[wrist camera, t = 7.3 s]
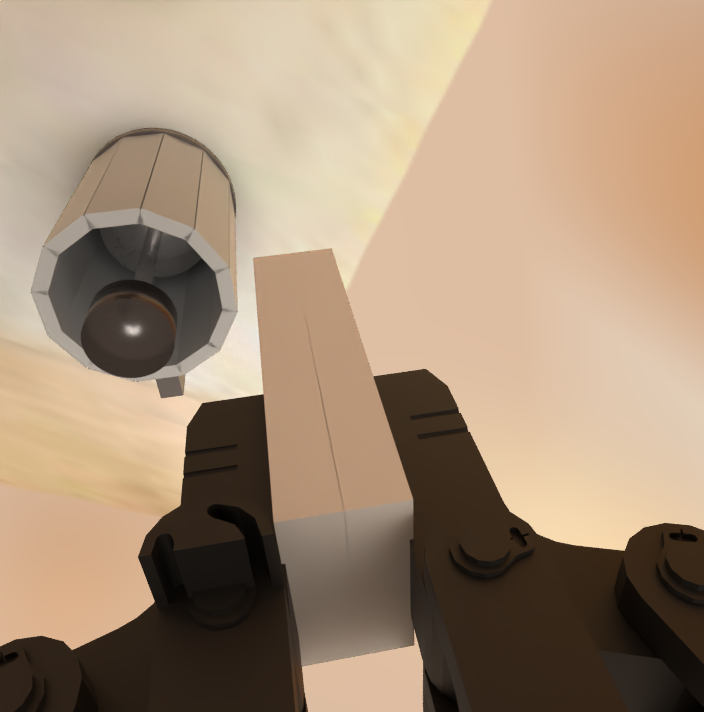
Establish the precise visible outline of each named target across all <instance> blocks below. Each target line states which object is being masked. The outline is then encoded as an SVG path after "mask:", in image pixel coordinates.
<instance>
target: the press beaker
mask: <svg viewBox="0 0 704 712" xmlns="http://www.w3.org/2000/svg"><path fill="white" fill-rule="evenodd" d="M235 217H236V202H235V193H234V189H233V185H232V183H231V180H230V177H229V175H228V173H227V172H226V170H225V168H224V167H223V165H222V164H221V162H220V161H219V160H218V159H217V157H216V156H215V155H214V154H213V153H212V152H211V151H210V150H209V149H207V148H206V147H205V146H204V145H202V144H201V143H199V142H198V141H196V140H195V139H193V138H191V137H189V136H187V135H184V134H181V133H179V132H176V131H171V130H167V129H159V128H144V129H138V130H133V131H130V132H127V133H124V134H122V135H120V136H118V137H116V138H114V139H113V140H111V141H110V142H108V143H107V144H106V145H105V146H104V147H103V148H102V149H101V150H100V151H99V152H98V153H97V155H96V156H95V157H94V159H93V161H92V163H91V164H90V166H89V168H88V170H87V172H86V174H85V175H84V177H83V179H82V180H81V182H80V184H79V185H78V187H77V189H76V191H75V192H74V194H73V196H72V197H71V199H70V201H69V203H68V204H67V206H66V208H65V209H64V211H63V213H62V214H61V216H60V218H59V220H58V221H57V223H56V225H55V226H54V228H53V230H52V232H51V233H50V235H49V237H48V238H47V240H46V242H45V243H44V245H43V247H42V251H41V255H40V258H39V262H38V266H37V269H36V273H35V277H34V281H33V284H32V288H31V294H32V296H33V299H34V302H35V304H36V307H37V309H38V312H39V315H40V317H41V320H42V322H43V325H44V327H45V330H46V333H47V335H49V338H51V339H52V340H53V341H54V342H55V343H57V344H58V345H59V346H60V347H61V348H63V349H64V350H65V351H66V352H68V353H69V354H70V355H71V356H72V357H74V358H75V359H76V360H77V361H78V362H80V363H81V364H82V365H83V366H84V367H86V368H87V367H88V369H91V370H94V371H98V372H101V373H105V374H109V373H107V372H105V371H103V370H101V369H100V368H98V367H97V366H96V365H94V364H93V363H92V362H91V361H90V360H89V358H88V357H87V355H86V354H85V352H84V350H83V348H82V344H81V330H82V326H83V324H84V321H85V318H86V316H87V313H88V310H89V307H90V305H91V302H92V300H93V298H94V296H95V295H96V294H97V293H98V291H99V290H101V289H102V288H103V287H105V286H106V285H108V284H110V283H113V282H116V281H120V280H129V279H130V280H134V277H135V274H136V272H134V271H132V270H130V269H128V268H126V267H125V266H124V265H122V264H121V263H120V262H118V261H117V260H116V259H115V258H114V257H113V256H112V254H111V253H110V252H109V250H108V249H107V247H106V246H105V244H104V242H103V239H102V236H101V232H100V228H104V227H113V226H122V225H131V224H139V223H141V224H143V225H146V226H149V227H151V228H154V229H157V230H160V231H162V232H165V233H168V234H170V235H173V236H176V237H179V238H181V239H184V240H186V241H187V242H188V243H189V244H190V245H191V247H192V248H193V249H194V250H195V251H196V252H197V253H198V254H199V255H200V256H201V257H202V258H201V259H200V260H199V261H198V262H197V263H196V264H195V265H194V266H193V267H192V268H190V269H188V270H187V271H185V272H183V273H180V274H177V275H174V276H169V277H153V280H152V285H154V286H156V287H158V288H159V289H161V290H162V291H163V292H165V293H166V294H167V295H168V297H169V298H170V299H171V300H172V302H173V304H174V306H175V308H176V311H177V316H178V322H177V330H176V338H175V345H174V351H173V354H172V356H171V358H170V360H169V361H168V363H167V364H166V365H165V366H164V367H163V368H162V369H160V370H159V371H157V372H155V373H153V374H151V375H148V376H145V377H140V378H124V377H120V378H123V379H127V380H130V381H134V382H135V380H136V382H139V381H146V380H153V379H156V382H157V386H158V389H159V392H160V396H161V398H167V397H174V396H181V395H183V393H184V383H185V374H186V373H188V372H189V371H191V370H192V369H194V368H195V367H196V366H198V365H199V364H201V363H202V362H204V361H205V360H207V359H208V358H210V357H211V356H213V355H214V354H216V353H217V352H218V351H220V350H221V348H222V345H223V343H224V341H225V339H226V336H227V334H228V332H229V330H230V327H231V325H232V323H233V321H234V318H235V316H236V314H237V311H238V310H237V270H236V230H235ZM109 375H112V374H109ZM112 376H115V375H112ZM116 377H118V376H116Z"/></svg>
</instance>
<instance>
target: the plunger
mask: <svg viewBox="0 0 704 712" xmlns="http://www.w3.org/2000/svg"><path fill="white" fill-rule="evenodd" d="M100 232H101V236H102V239H103V242H104V244H105V246H106V247H107V249H108V250H109V252H110V253H111V254H112V256H113V257H114V258H115V259H116V260H117V261H118V262H120V263H121V264H122V265H124V266H125V267H126V268H128V269H130V270H132V271H134V272H136V274H135V277H134V280H130V279H129V280H120V281H116V282H113V283H110V284H108V285H106V286H105V287H103V288H102V289H101V290H99V291H98V293H97V294H96V295H95V296H94V298H93V300H92V302H91V305H90V307H89V310H88V313H87V316H86V318H85V321H84V324H83V326H82V330H81V344H82V348H83V350H84V352H85V354H86V355H87V357H88V358H89V360H90V361H91V362H92V363H93V364H94V365H96V366H97V367H98V368H100V369H101V370H103V371H105V372H107V373H109V374H112V375H115V376H118V377H124V378H140V377H145V376H148V375H151V374H153V373H155V372H157V371H159V370H160V369H162V368H163V367H164V366H165V365H166V364H167V363H168V361H169V360H170V358H171V356H172V354H173V351H174V345H175V338H176V330H177V322H178V316H177V311H176V308H175V306H174V304H173V302H172V300H171V299H170V298H169V297H168V295H167V294H166V293H165V292H163V291H162V290H161V289H159V288H158V287H156V286H154V285H152V280H153V277H169V276H174V275H177V274H180V273H183V272H185V271H187V270H188V269H190V268H192V267H193V266H194V265H195V264H196V263H197V262H198V261H199V260H200V259H201V258H202V257H201V256H200V255H199V254H198V253H197V252H196V251H195V250H194V249H193V248H192V247H191V245H190V244H189V243H188V242H187V241H186V240H184V239H181V238H179V237H176V236H173V235H170V234H168V233H165V232H162V231H160V230H157V229H154V228H151V227H149V226H146V225H143V224H141V223H139V224H131V225H122V226H113V227H104V228H100Z"/></svg>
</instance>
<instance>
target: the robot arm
mask: <svg viewBox="0 0 704 712" xmlns="http://www.w3.org/2000/svg"><path fill="white" fill-rule="evenodd" d="M253 262H254V275H255V288H256V301H257V314H258V327H259V340H260V353H261V366H262V379H263V392H264V394H263V395H256V396H249V397H242V398H235V399H228V400H221V401H214V402H207V403H202V405H201V406H200V408H199V409H198V411H197V412H196V414H195V416H194V417H193V419H192V420H191V422H190V423H189V425H188V426H187V435H186V447H185V454H186V457H185V459H184V471H183V474H184V478H183V483H182V495H181V506H179V507H178V508H176V509H174V510H173V511H171V512H170V513H168V514H166V515H165V516H163V517H162V518H161V519H160V520H159V521H158V523H157V524H156V525H155V526H154V527H153V528H152V530H151V531H150V532H149V533H148V534H147V535H146V537H145V540H144V543H143V545H142V548H141V551H140V553H139V556H138V558H139V561H140V563H141V566H142V568H143V571H144V574H145V576H146V579H147V582H148V584H149V587H150V590H151V592H152V595H153V598H154V600H155V602H154V604H153V605H151V606H150V607H149V608H148V609H147V610H146V611H144V612H143V613H142V614H141V615H140V616H138V617H137V618H136V619H134V620H132V621H131V622H129V623H127V624H126V625H124V626H122V627H120V628H119V629H116V630H114V631H112V632H110V633H108V634H106V635H104V636H102V637H100V638H97V639H95V640H93V641H91V642H89V643H87V644H85V645H83V646H80V647H78V648H76V649H74V650H71V649H70V648H69V647H68V646H67V645H66V644H65V643H64V642H63V641H59V640H55V639H52V638H48V637H44V636H37V637H30V638H24V639H16V640H14V641H11V642H9V643H7V644H5V645H3V646H0V712H308V710H307V704H306V698H305V693H304V684H303V674H302V666H306V665H312V664H317V663H323V662H328V661H333V660H338V659H344V658H349V657H355V656H360V655H365V654H370V653H376V652H381V651H386V650H392V649H397V648H402V647H408V646H413V645H414V629H415V633H416V637H417V641H418V644H419V648H420V652H421V656H422V659H423V712H704V530H701V529H698V528H696V527H693V526H690V525H680V524H669V523H663V524H659V525H654V526H649V527H645V528H643V529H642V530H640V531H639V532H638V533H636V534H635V535H634V536H632V537H631V538H630V539H629V541H628V544H627V546H626V549H625V551H620V550H611V549H602V548H593V547H583V546H575V545H570V544H565V543H560V542H555V541H553V540H550V539H548V538H545V537H543V536H540V535H538V534H536V532H535V531H534V530H533V529H532V527H531V526H530V525H529V524H528V523H527V522H525V521H523V520H522V519H520V518H519V517H517V516H516V515H514V514H513V513H511V512H509V510H508V508H507V507H506V505H505V504H504V502H503V500H502V498H501V496H500V494H499V492H498V490H497V487H496V485H495V483H494V481H493V479H492V477H491V475H490V473H489V471H488V469H487V467H486V465H485V463H484V461H483V459H482V456H481V454H480V452H479V450H478V448H477V446H476V444H475V442H474V440H473V438H472V436H471V434H470V432H468V429H467V425H466V423H465V421H464V419H463V417H462V415H461V413H459V411H458V407H457V404H456V402H455V400H454V398H453V396H452V394H451V392H450V390H449V388H448V386H447V385H445V384H444V383H443V382H442V381H440V380H439V379H438V378H437V377H435V376H434V375H433V374H432V373H430V372H429V371H428V370H426V369H422V370H415V371H408V372H401V373H394V374H387V375H380V376H374V377H373V374H372V371H371V368H370V365H369V362H368V359H367V356H366V353H365V350H364V347H363V344H362V341H361V338H360V335H359V332H358V328H357V325H356V322H355V320H354V316H353V313H352V310H351V307H350V304H349V301H348V298H347V295H346V291H345V288H344V285H343V282H342V279H341V276H340V273H339V270H338V267H337V264H336V261H335V258H334V255H333V252H332V248H331V249H323V250H315V251H307V252H299V253H291V254H282V255H274V256H266V257H258V258H253Z"/></svg>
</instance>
